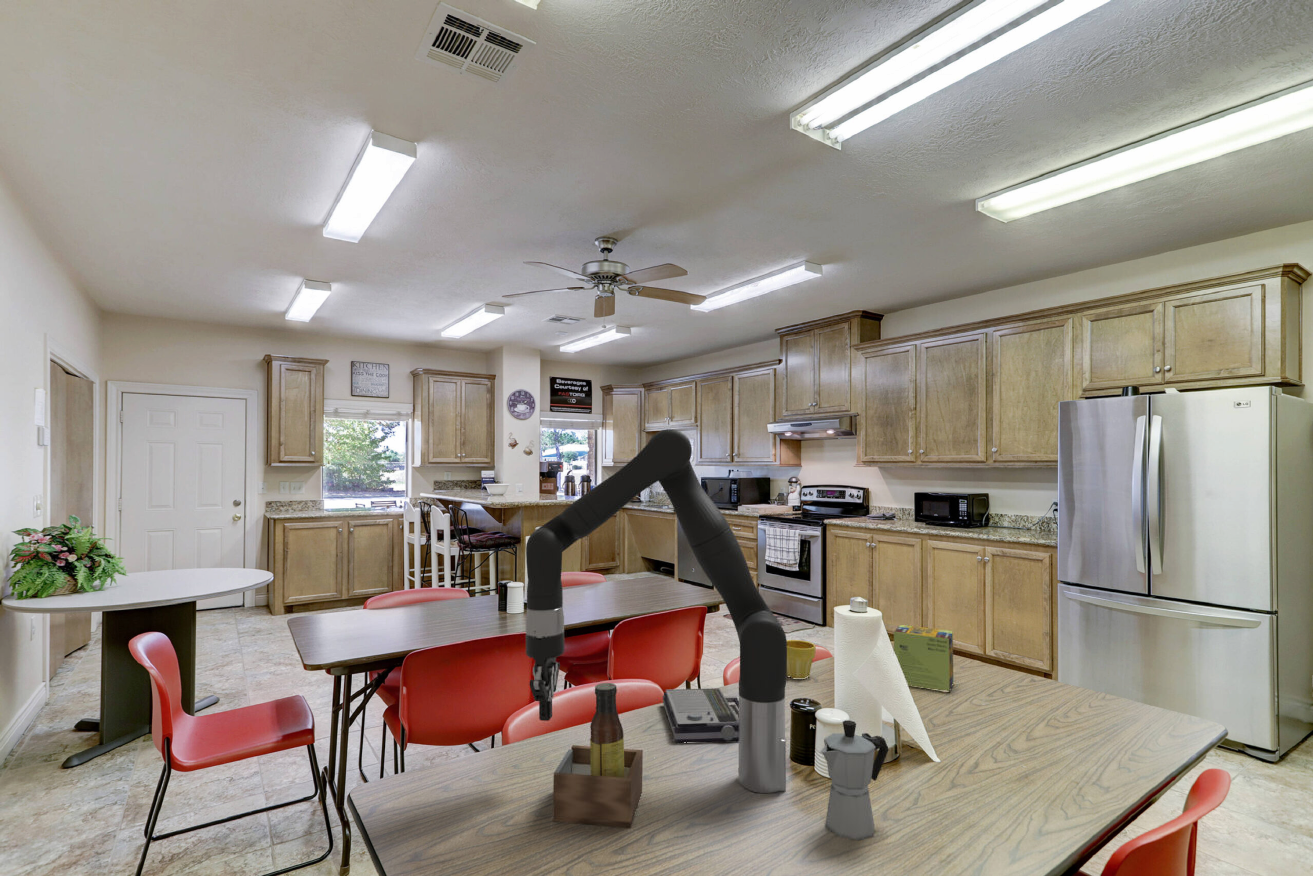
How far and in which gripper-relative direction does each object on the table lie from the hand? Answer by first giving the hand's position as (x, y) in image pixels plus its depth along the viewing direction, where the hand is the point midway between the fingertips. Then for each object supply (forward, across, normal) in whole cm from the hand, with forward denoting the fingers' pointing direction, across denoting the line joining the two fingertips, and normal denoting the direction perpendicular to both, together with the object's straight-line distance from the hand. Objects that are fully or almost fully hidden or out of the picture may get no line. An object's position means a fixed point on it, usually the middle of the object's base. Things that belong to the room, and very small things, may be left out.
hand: (545, 719), depth 126 cm
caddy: (+14, +5, +12) cm, 19 cm away
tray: (+12, +5, +11) cm, 17 cm away
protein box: (+16, -76, +92) cm, 121 cm away
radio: (+15, -38, +30) cm, 50 cm away
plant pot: (+15, -78, +56) cm, 97 cm away
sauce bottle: (+12, +5, +13) cm, 18 cm away
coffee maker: (+15, +5, +58) cm, 60 cm away
